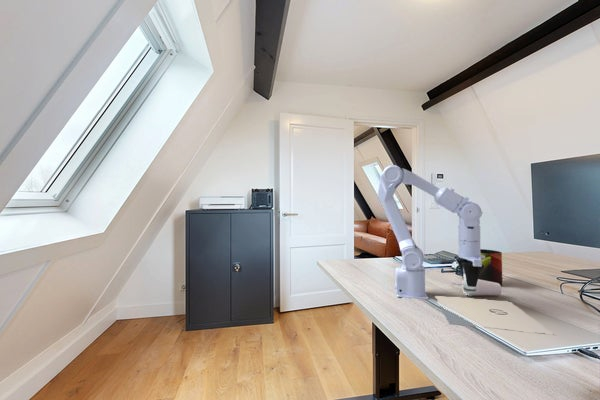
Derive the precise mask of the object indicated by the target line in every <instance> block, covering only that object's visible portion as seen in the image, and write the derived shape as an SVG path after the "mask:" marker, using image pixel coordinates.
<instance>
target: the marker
mask: <svg viewBox="0 0 600 400" xmlns="http://www.w3.org/2000/svg"><path fill="white" fill-rule="evenodd" d="M462 279H463V280H464V287H463V289H464V291H465V292H468V293H476V287H470V286H468V285H467V282H466V276H465V271H464V269H463V278H462Z"/></svg>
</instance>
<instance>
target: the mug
mask: <svg viewBox="0 0 600 400" xmlns="http://www.w3.org/2000/svg"><path fill="white" fill-rule="evenodd" d="M480 255H484V256H485V258H481V260H482V265H484V268H483V269H482V271H481V273H480V275H479V278H478V279H480V280H485V281H490V282H495V283H499V284H500V286H501V287H502V286H503V253H502V251H499V250H492V249H485V248H484V249H483V248H482V249H481V248H480Z"/></svg>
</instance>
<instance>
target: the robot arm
mask: <svg viewBox="0 0 600 400" xmlns="http://www.w3.org/2000/svg"><path fill="white" fill-rule="evenodd" d="M379 177H380V178H379V186H378V189H377V190H378V191H377V197H378V200H379V202H380V204H381V207H382V208H383V211H384V214H385V215H386V218H387V220H388V223H389V224H390V226H391V229H392V231H393V233H394V235H395V238H396V240H397V243H398V246H399V250H400V253H401V257H402V258H401V261H402V262H401V263H402V264H401V267H395V268H394V270H395V271H394V275H395V276H394V277H395V280H394V281H395V282H394V290H395V294H396V298H408V299H420V300H429V297H428V294H427V293H426V267H425V266H424V265H423V264H424V252H423V251H422V249H421V248H419V246H417V244H416V242H415V240H414V238H413V237H412V235H411V232H410V230H409V228H408V226H407V224H406V221H405V219H404V217H403V214H402V212H401V211H400V208H399V206H398V204H397V202H396V199H395V197H394V195H395V194H396V193H395V192H396V190H398V189H397V188H398V187H399V186H400V185H401V184H403V185H412V186H414V187H415V188H418V189H419V190H421V191H422V192H425V193H426V194H428V195H430V196H433V198H434V202H435V204H437V205H439V206H441V207H442V208H444V209H445V210H447V211H449V212H451V213H453V214H455V213H456V214H457V216H458V221H459V222H458V224H459V225H458V232H457V233H458V253H457V257H459V258H456V259H455V261H456V263H457V264H458V266H459V270H460V272H461V277H462V279H463V269H464V271H465V276H466V282H467V285H468V286H470V287H476V285H477V281H478V278H479V275H480V273H481V271H482V269H483V268H484V265H482V260H481V258H485V256H484V255H480V249H481V225H480V224H481V222H480V221H481V220H480V219H481V217H482V216H483V211H482V208H481V206H480V205H479V204H477V203H476V202H473V201H470V198H469V197H468V196H465V197H464V196H463V195H460V194H459V193H457V192H455V189H453V188H452V187H449V188H448V187H441V188H439V187H437V186H436V185H434V184H433V183H431V182H430V181H427V180H426V179H425V178H423V177H421V176H419V175H418V174H416V173H414V172H412V171H410V170H408V169H406V168H401V167H400V166H398V165H395V164H390V165H388V166H386V167H385V168H384V169H383V171H382V173H381V174H380V175H379ZM463 281H464V280H463Z"/></svg>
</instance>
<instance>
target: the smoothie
mask: <svg viewBox="0 0 600 400" xmlns="http://www.w3.org/2000/svg"><path fill="white" fill-rule="evenodd" d="M451 285H457V286H461V290H462V293H463V294H464V293H465V294H467V295H468V296H467V297H472V296H500V295H501V294H502V290H503V289H502V286H500V284H499V283H495V282H490V281H485V280H480V279H478V281H477V285H476V293H468V292H465V291H464V289H463V287H464V281H463V278H462V280H461V283H460V282H451ZM465 294H464V295H465Z"/></svg>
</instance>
